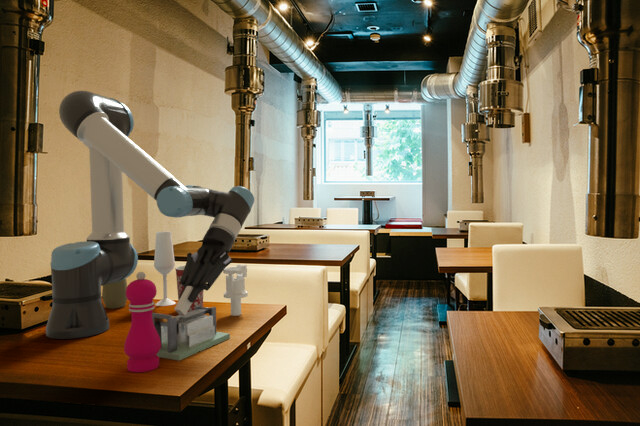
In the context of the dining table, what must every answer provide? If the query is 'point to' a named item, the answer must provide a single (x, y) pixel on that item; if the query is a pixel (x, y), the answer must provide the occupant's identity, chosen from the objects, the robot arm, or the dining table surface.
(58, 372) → the dining table surface
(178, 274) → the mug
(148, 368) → the pepper mill
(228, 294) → the white plastic part
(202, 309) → the grey bar
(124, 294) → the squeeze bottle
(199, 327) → the grey blocky device
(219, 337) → the mainboard
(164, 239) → the champagne flute
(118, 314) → the dining table surface
